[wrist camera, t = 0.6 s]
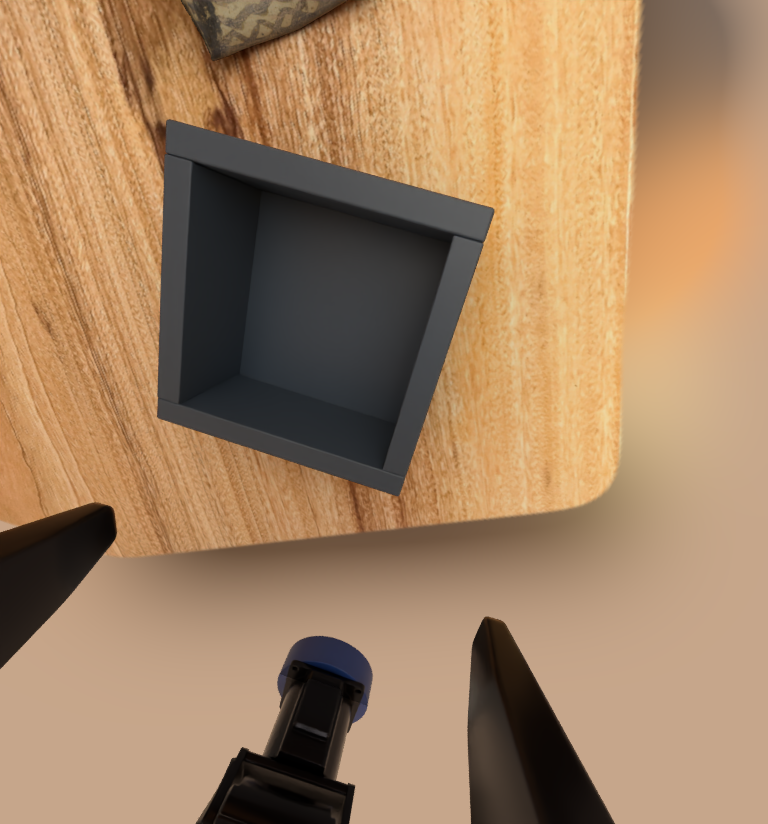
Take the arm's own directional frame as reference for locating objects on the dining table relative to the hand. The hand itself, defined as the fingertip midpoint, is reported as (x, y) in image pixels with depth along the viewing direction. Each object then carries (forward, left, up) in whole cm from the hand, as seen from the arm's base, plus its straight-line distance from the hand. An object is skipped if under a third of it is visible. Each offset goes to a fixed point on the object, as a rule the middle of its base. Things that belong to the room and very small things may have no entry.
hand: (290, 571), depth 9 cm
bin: (+4, +3, -13) cm, 14 cm away
